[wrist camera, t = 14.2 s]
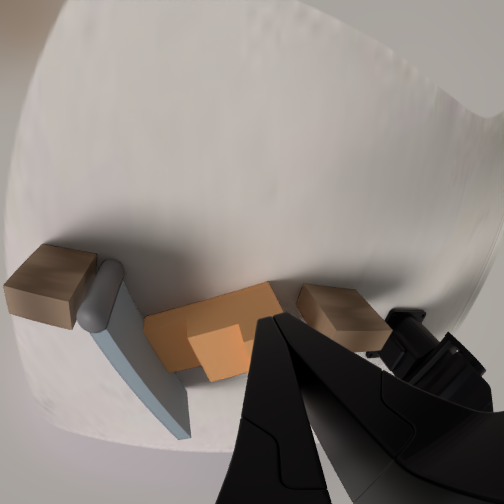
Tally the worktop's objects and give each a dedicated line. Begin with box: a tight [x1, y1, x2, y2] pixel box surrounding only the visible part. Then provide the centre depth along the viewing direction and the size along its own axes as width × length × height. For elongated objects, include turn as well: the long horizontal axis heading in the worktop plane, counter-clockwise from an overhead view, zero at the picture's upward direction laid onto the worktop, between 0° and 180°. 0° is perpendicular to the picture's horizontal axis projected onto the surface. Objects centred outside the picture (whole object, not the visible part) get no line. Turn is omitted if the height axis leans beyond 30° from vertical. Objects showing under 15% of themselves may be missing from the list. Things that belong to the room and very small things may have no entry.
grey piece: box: [77, 259, 191, 440], centre depth 19 cm, size 15×2×6 cm, turn 12°
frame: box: [3, 244, 393, 352], centre depth 18 cm, size 26×2×6 cm, turn 75°
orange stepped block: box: [143, 281, 283, 382], centre depth 20 cm, size 10×5×6 cm, turn 102°
